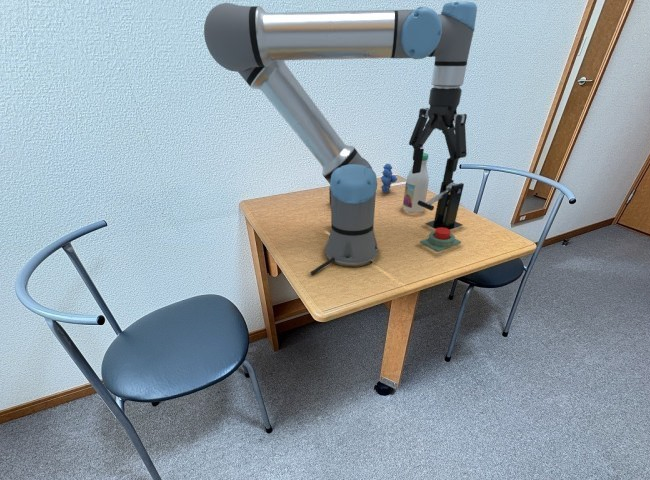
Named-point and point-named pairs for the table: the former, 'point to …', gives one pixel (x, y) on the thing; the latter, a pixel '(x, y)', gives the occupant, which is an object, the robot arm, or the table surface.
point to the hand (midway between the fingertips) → (430, 177)
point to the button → (442, 233)
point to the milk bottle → (416, 188)
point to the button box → (440, 242)
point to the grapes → (387, 178)
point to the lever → (436, 198)
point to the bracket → (448, 208)
